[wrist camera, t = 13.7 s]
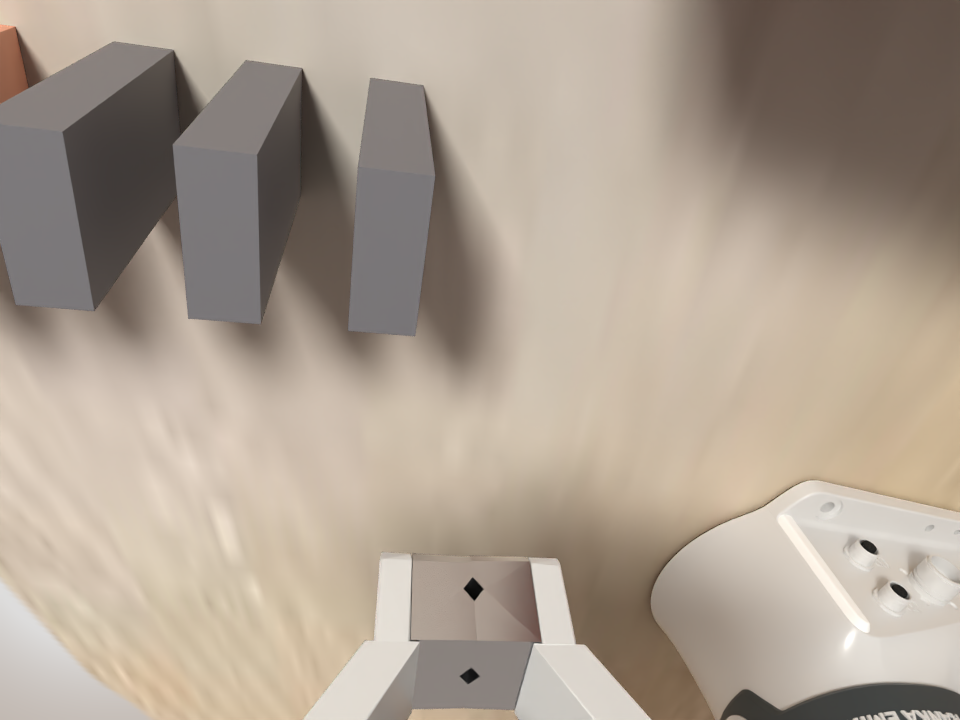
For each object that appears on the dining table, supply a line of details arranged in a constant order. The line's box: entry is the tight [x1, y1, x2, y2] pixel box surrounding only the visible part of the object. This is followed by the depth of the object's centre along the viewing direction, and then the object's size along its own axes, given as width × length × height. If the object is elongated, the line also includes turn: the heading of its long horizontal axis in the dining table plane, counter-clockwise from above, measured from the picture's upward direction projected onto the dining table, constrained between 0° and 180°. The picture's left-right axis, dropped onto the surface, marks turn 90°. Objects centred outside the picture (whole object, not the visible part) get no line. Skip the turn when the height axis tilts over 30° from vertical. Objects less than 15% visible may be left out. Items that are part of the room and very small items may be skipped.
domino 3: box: [348, 78, 435, 336], centre depth 23 cm, size 2×5×10 cm, turn 171°
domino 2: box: [173, 60, 302, 324], centre depth 22 cm, size 2×5×10 cm, turn 171°
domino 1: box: [0, 42, 181, 311], centre depth 22 cm, size 2×5×10 cm, turn 171°
